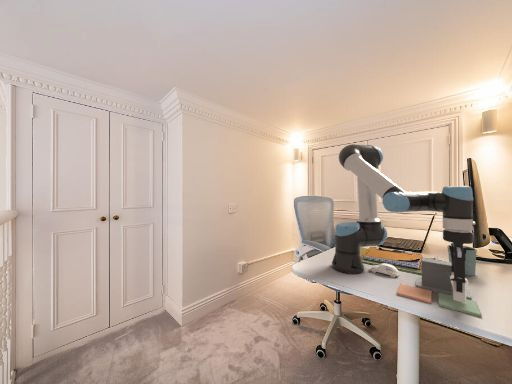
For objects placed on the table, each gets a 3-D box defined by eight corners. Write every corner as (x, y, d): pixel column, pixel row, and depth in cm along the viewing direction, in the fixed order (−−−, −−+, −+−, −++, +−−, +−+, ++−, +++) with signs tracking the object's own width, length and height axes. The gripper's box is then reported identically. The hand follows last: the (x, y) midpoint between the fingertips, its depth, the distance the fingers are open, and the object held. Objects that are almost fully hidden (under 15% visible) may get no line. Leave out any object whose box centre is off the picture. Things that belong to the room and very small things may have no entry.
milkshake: (446, 296, 75) (446, 269, 75) (467, 301, 72) (467, 273, 72) (447, 301, 72) (447, 273, 72) (469, 307, 68) (469, 277, 68)
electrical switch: (446, 283, 87) (443, 261, 88) (430, 281, 91) (428, 260, 91) (444, 276, 95) (441, 256, 95) (430, 274, 98) (427, 255, 99)
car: (400, 274, 98) (400, 265, 98) (398, 279, 93) (398, 268, 93) (372, 268, 106) (371, 259, 106) (368, 272, 101) (368, 262, 101)
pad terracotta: (397, 294, 79) (397, 292, 79) (400, 285, 86) (400, 283, 86) (431, 303, 72) (431, 301, 72) (431, 292, 80) (431, 290, 80)
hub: (415, 287, 84) (415, 260, 84) (416, 280, 90) (416, 255, 90) (471, 300, 74) (471, 270, 74) (468, 292, 80) (468, 264, 80)
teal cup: (475, 278, 92) (475, 251, 92) (445, 271, 100) (445, 247, 100) (477, 272, 99) (477, 247, 99) (449, 266, 107) (449, 243, 107)
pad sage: (439, 305, 71) (439, 303, 71) (438, 294, 78) (438, 292, 78) (481, 317, 64) (481, 314, 64) (476, 303, 72) (476, 301, 72)
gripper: (478, 237, 61) (478, 313, 61) (468, 227, 76) (469, 288, 77) (444, 233, 66) (444, 304, 66) (441, 225, 81) (442, 282, 81)
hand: (457, 295), depth 71 cm, fingers open, 8 cm apart
